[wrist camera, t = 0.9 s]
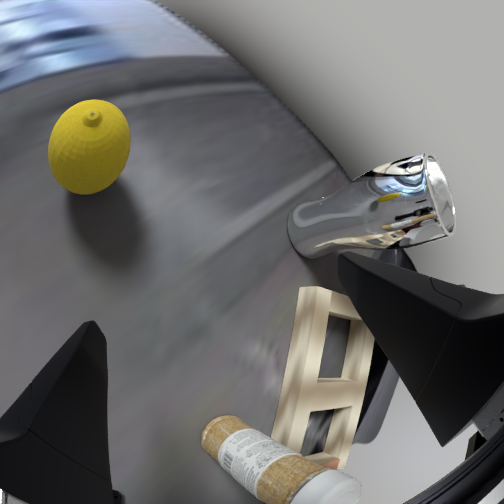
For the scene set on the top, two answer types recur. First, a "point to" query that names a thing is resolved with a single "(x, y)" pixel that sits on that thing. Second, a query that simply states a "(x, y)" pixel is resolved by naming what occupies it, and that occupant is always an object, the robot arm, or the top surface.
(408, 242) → the beer glass
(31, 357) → the top surface
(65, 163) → the lemon
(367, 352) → the beige wooden flat tray
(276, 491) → the sprinkles bottle
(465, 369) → the robot arm
